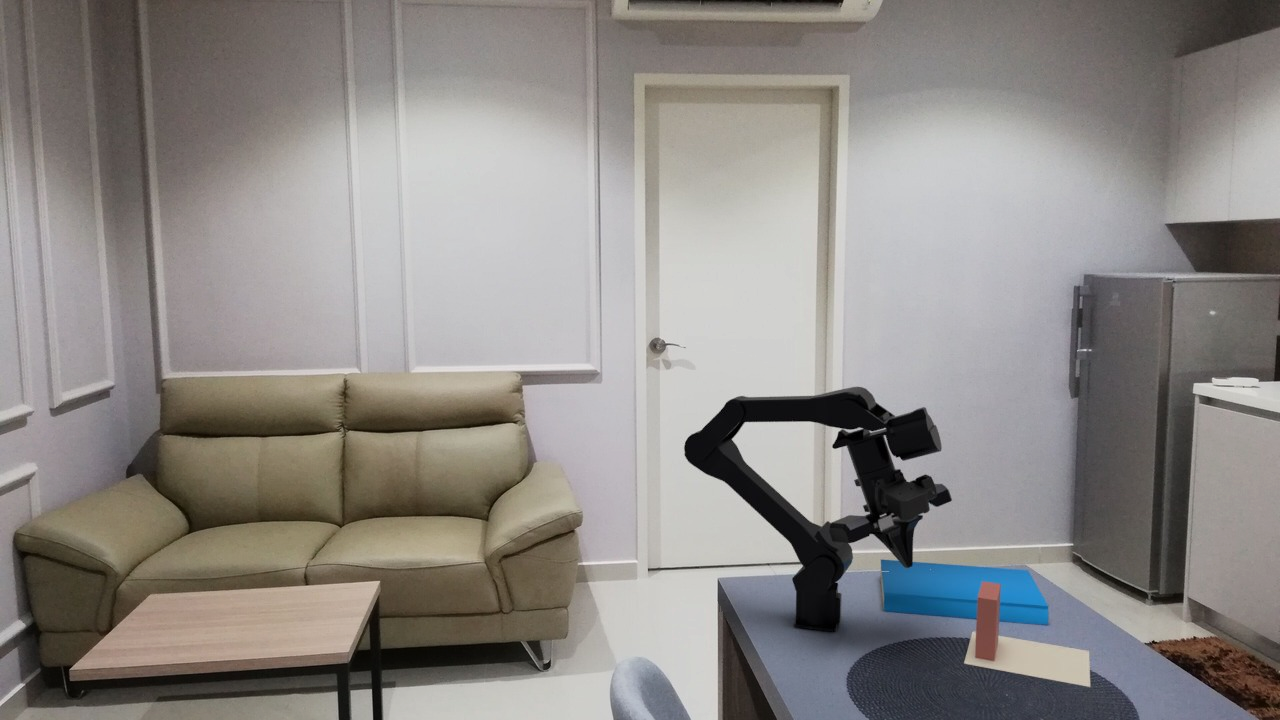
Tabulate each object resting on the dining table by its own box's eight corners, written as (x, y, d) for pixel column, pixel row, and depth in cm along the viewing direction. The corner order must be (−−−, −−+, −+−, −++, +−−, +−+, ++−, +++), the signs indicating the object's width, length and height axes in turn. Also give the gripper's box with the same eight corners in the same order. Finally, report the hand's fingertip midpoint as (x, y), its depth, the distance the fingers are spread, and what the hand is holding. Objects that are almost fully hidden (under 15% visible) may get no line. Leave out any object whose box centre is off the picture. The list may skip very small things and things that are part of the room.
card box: (975, 657, 128) (977, 597, 127) (979, 638, 134) (982, 581, 133) (994, 661, 127) (997, 600, 126) (998, 642, 133) (1000, 584, 132)
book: (879, 559, 161) (1027, 567, 155) (879, 582, 161) (1027, 591, 156) (884, 594, 144) (1050, 604, 139) (883, 619, 145) (1049, 631, 139)
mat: (963, 666, 126) (963, 663, 126) (972, 634, 137) (972, 631, 137) (1090, 690, 119) (1090, 686, 119) (1088, 654, 130) (1089, 651, 130)
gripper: (850, 489, 124) (886, 596, 124) (956, 446, 130) (992, 548, 129) (813, 489, 135) (846, 587, 134) (913, 449, 141) (945, 544, 140)
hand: (908, 567), depth 134 cm, fingers closed
